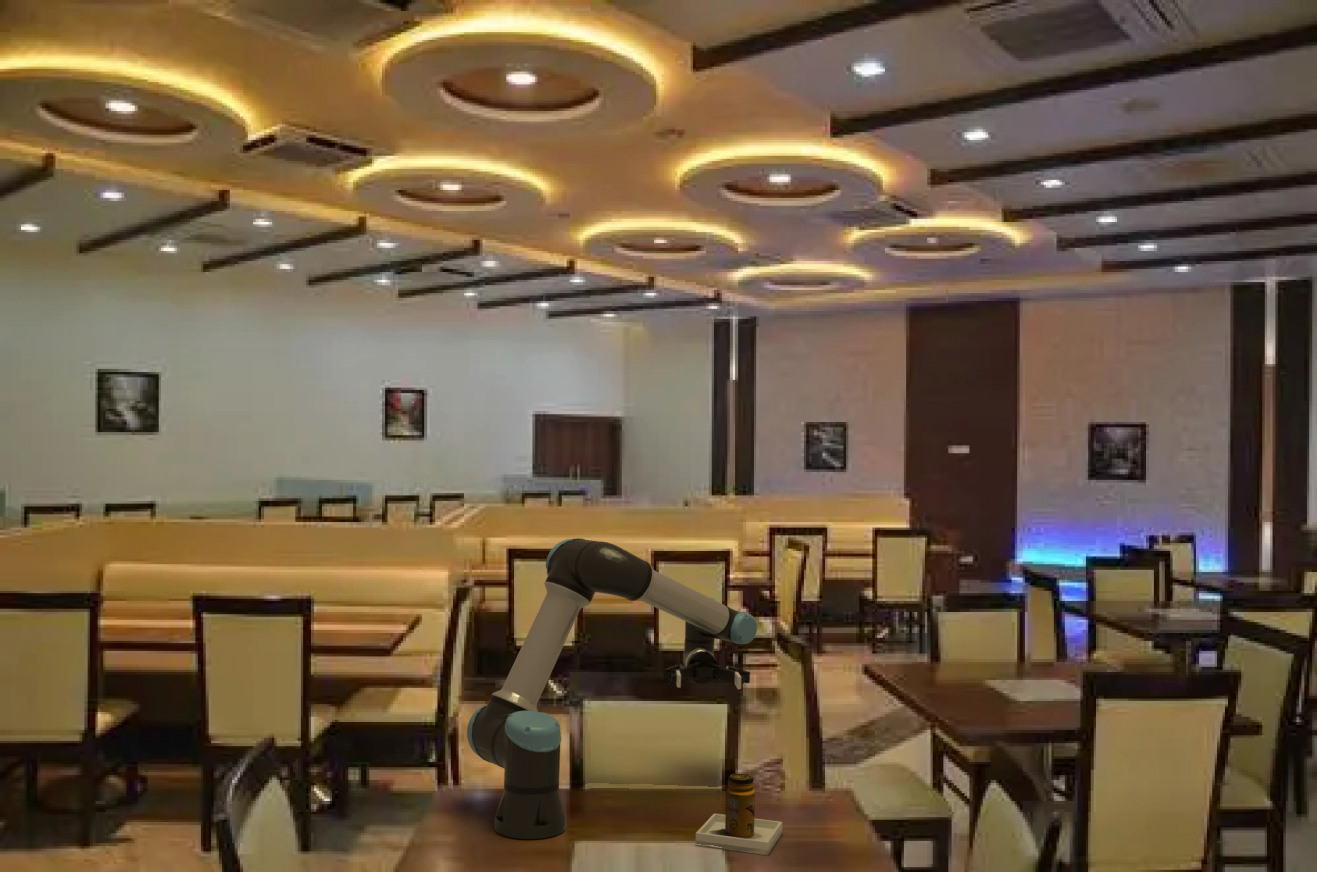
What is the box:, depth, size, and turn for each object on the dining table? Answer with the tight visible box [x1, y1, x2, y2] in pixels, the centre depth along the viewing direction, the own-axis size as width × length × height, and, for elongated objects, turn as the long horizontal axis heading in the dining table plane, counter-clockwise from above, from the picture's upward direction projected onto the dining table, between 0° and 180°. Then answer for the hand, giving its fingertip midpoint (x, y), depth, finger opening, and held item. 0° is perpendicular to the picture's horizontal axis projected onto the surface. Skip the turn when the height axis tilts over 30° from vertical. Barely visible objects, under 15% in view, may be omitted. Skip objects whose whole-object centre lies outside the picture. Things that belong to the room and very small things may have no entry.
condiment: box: [709, 773, 761, 839], centre depth 229 cm, size 7×8×12 cm
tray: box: [695, 813, 783, 856], centre depth 229 cm, size 15×14×2 cm
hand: (709, 682), depth 247 cm, fingers open, 13 cm apart
